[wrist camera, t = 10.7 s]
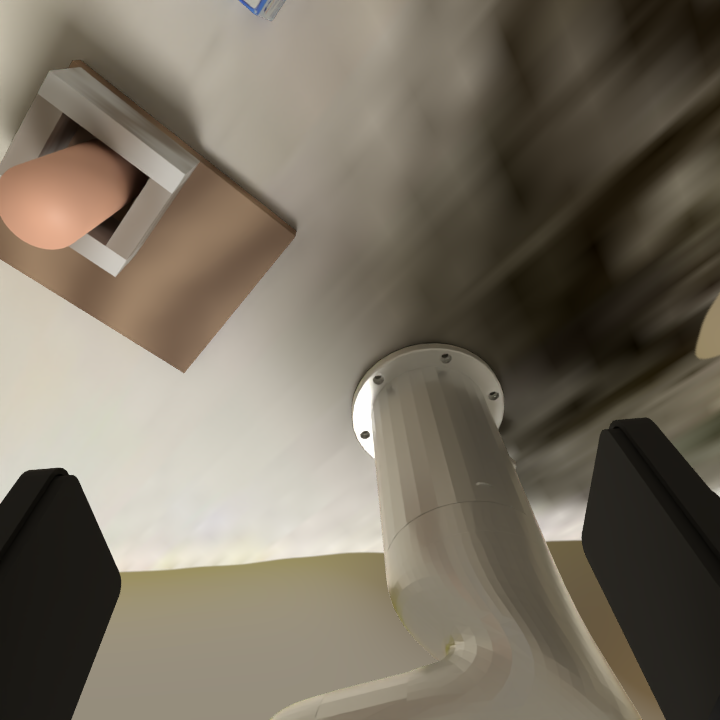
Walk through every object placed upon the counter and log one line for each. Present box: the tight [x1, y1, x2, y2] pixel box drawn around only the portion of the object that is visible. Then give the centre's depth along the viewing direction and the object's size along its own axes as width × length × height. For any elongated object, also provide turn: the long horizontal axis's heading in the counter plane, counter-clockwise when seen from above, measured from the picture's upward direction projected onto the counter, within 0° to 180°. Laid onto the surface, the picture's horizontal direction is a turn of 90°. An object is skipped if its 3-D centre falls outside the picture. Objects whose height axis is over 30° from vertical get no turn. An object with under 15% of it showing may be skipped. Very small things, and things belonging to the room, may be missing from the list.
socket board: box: [0, 60, 296, 373], centre depth 36 cm, size 16×14×5 cm
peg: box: [0, 138, 147, 250], centre depth 30 cm, size 4×4×10 cm
